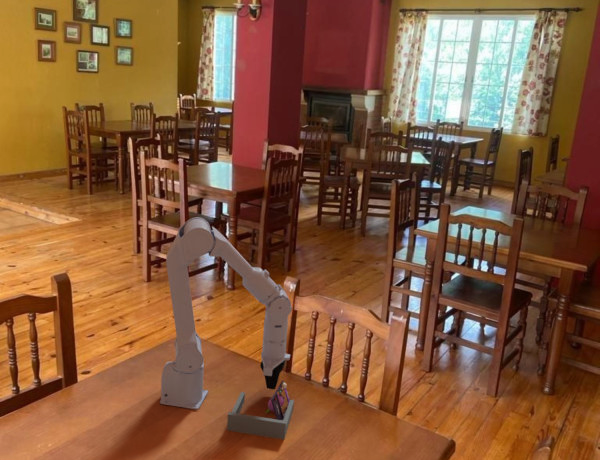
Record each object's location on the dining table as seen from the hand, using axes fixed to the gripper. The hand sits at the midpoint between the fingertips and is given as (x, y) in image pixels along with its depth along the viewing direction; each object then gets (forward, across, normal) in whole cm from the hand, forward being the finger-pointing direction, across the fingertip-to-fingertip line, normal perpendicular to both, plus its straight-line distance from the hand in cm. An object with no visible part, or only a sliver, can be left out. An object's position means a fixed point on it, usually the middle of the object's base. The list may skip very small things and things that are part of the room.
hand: (271, 387), depth 142 cm
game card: (+2, -8, -3) cm, 8 cm away
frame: (+2, -10, 0) cm, 11 cm away
